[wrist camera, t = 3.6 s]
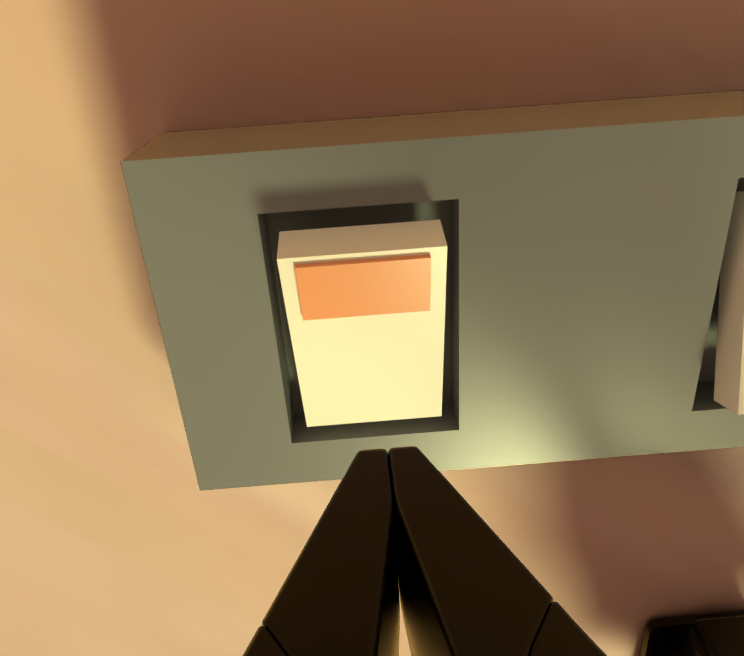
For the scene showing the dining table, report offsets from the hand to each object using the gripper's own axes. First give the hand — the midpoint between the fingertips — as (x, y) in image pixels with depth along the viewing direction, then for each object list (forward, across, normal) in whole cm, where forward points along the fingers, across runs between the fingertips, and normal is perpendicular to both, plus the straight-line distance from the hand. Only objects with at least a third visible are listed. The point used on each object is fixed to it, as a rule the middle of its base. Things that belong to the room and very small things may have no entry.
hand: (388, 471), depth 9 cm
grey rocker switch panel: (+12, -6, +2) cm, 13 cm away
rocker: (+8, 0, +2) cm, 8 cm away
